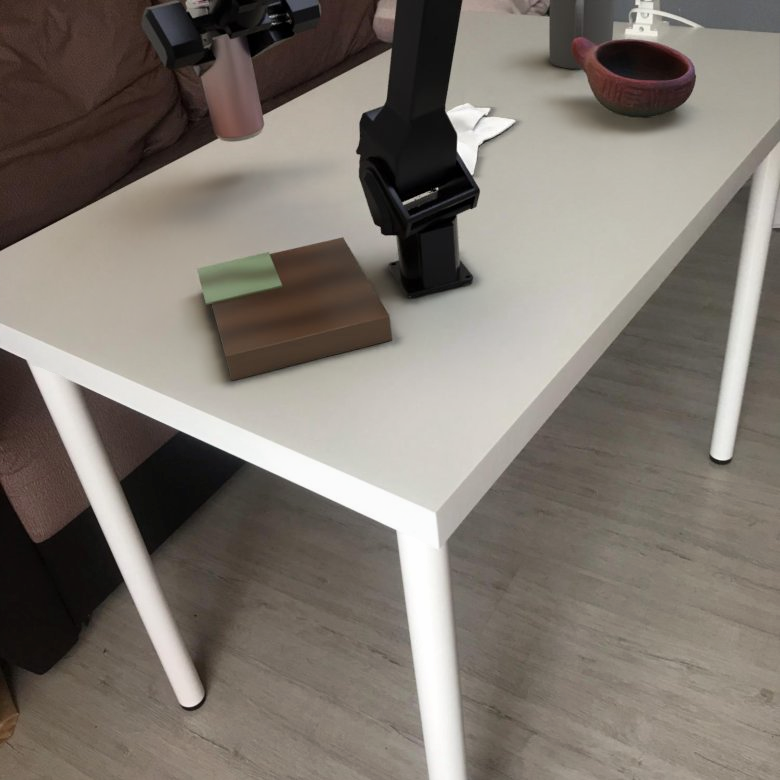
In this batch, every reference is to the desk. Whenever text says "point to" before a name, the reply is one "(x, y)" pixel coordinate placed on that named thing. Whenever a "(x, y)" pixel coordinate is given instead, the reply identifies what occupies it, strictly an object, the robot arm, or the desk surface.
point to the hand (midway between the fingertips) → (221, 65)
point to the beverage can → (230, 86)
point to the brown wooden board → (293, 307)
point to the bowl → (635, 75)
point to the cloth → (474, 130)
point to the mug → (578, 27)
